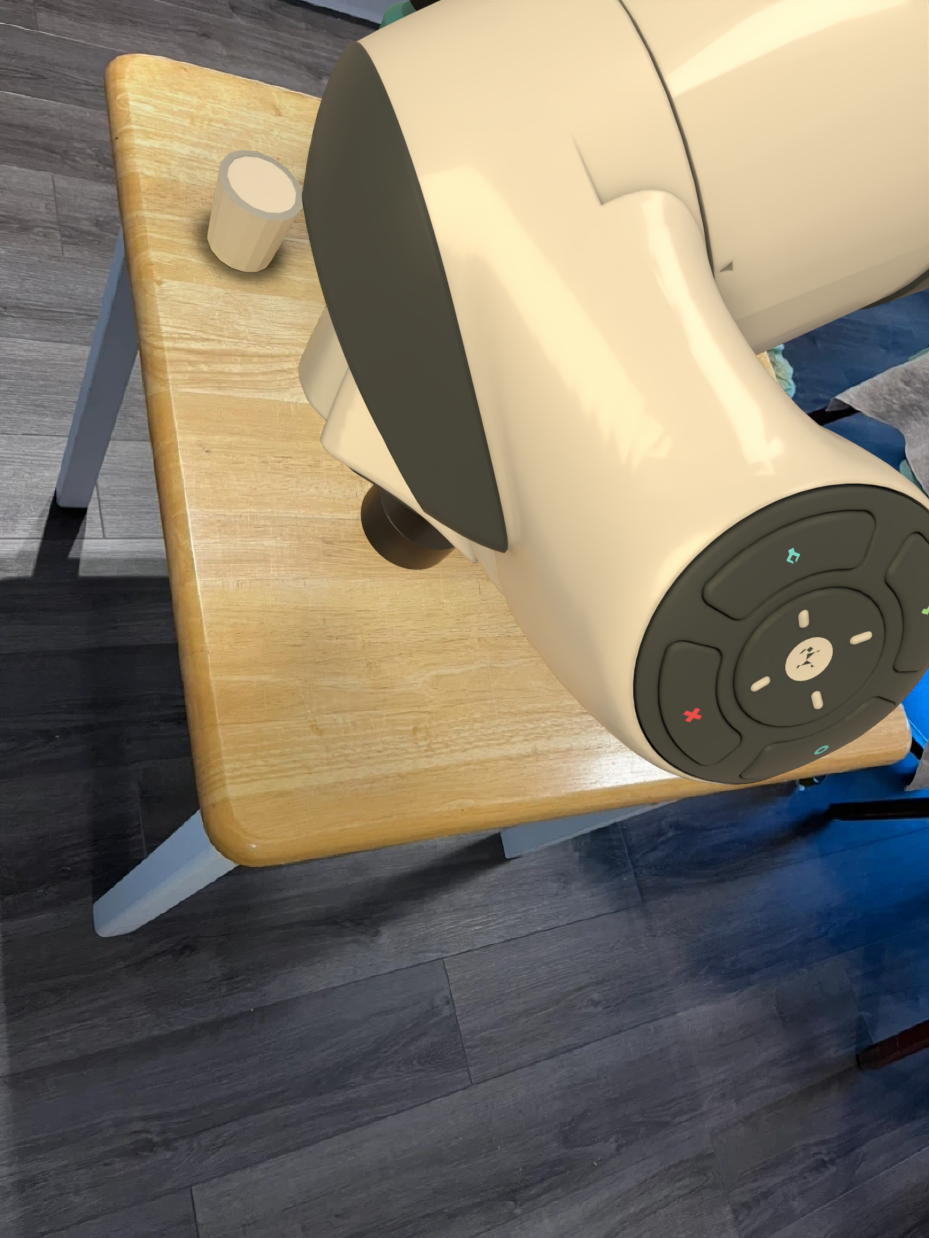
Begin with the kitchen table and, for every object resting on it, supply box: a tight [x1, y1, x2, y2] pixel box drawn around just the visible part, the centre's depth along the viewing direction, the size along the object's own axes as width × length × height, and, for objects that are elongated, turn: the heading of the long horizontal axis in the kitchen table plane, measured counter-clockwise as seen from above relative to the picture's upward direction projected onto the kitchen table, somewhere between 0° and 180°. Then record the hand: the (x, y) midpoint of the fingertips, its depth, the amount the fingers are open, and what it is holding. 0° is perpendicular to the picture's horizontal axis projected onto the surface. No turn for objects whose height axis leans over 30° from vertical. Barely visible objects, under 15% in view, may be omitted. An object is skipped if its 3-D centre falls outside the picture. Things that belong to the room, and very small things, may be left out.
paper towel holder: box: [360, 484, 457, 571], centre depth 45 cm, size 6×6×18 cm
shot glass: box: [206, 149, 303, 273], centre depth 73 cm, size 7×7×7 cm
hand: (495, 424), depth 44 cm, fingers closed on paper towel holder, 2 cm apart
